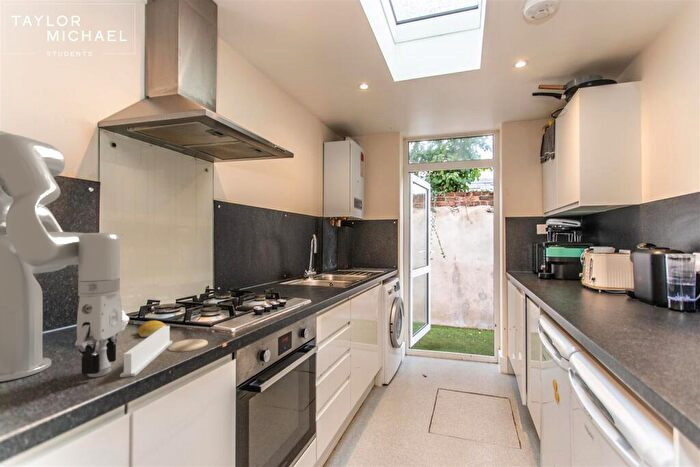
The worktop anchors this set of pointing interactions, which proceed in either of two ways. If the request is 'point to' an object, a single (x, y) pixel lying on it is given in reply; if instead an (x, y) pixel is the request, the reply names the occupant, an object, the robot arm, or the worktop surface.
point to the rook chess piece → (102, 360)
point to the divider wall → (146, 352)
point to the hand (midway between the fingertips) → (99, 366)
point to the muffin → (124, 320)
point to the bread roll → (150, 328)
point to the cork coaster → (188, 345)
